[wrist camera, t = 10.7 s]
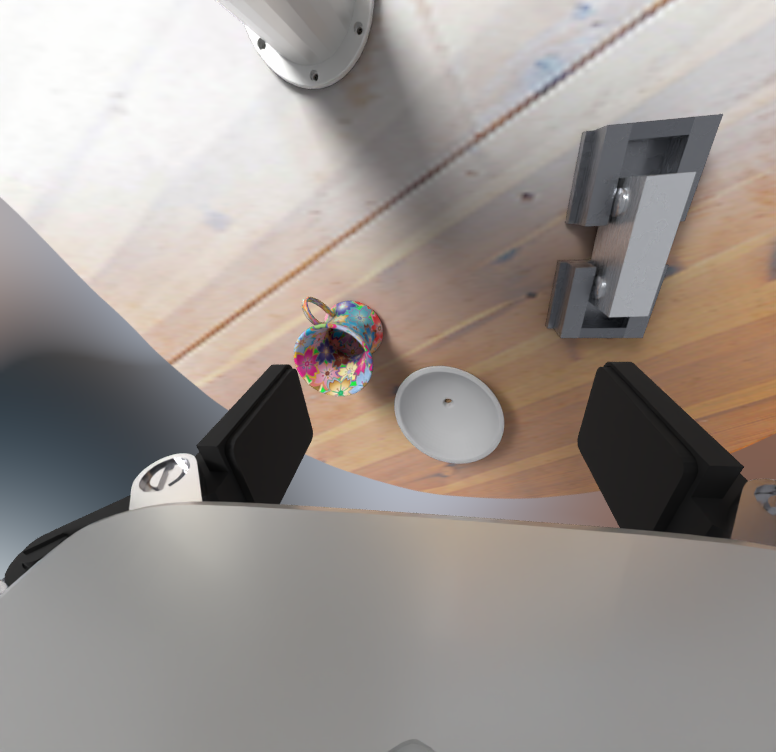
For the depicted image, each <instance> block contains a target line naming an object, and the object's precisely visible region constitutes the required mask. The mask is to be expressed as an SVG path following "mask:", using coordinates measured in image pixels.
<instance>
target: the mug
mask: <svg viewBox="0 0 776 752" xmlns="http://www.w3.org/2000/svg"><path fill="white" fill-rule="evenodd" d="M307 302H312V303H314V304H316V305H317V306H319V307H320V308H322V309H323V310H324V311H325V312H326V313H327V314H326V316H325V319H324V322H323V323H322V322H319V321H318V320H317V319H315V317H314V316H313V315H312V314H311V312H310V310H309V308H308V304H307ZM302 309H303V312H304V314H305V316H306V317H307V319H308V320H309V321H310V322H311V323H312V324H314V325H315V326H312V327H310V328H308V329H307V330H306V331H304V332H303V333H302V334H301V335H300V337H299V338H298V340H297V342H296V344H295V348H294V361H295V365H296V368H297V370H298V372H299V374H300V375H301V377H302V378H303V379H304V380H305V381H306V382H307V383H308V384H309V385H310V386H311V387H313V388H314V389H316V390H317V391H319V392H322V393H324V394H327V395H331V396H348V395H352V394H354V393H356V392H358V391H360V390H361V389H363V388H364V387H365V386H366V384H367V383H368V382H369V380H370V378H371V375H372V372H373V360H372V355H371V354H372V353H373V352H375V351H376V350H377V348H378V347H379V346H380V344H381V341H382V337H383V329H382V324H381V321H380V319H379V317H378V316H377V314H376V313H375V312H374V311H373V310H372V309H371V308H369V307H368V306H366V305H365V304H362V303H360V302H356V301H344V302H341V303H338V304H336V305H334V306H333V307H332V308H331V309H330V308H329V307H328V306H326V305H325V304H324V303H323V302H321V301H320V300H318V299H316V298H313V297H307V298H305V299H303V300H302Z"/></svg>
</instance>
